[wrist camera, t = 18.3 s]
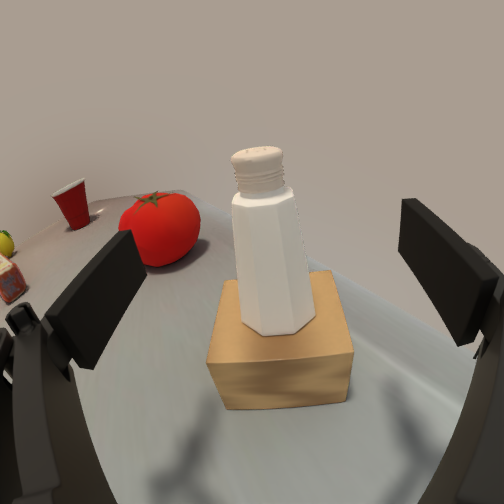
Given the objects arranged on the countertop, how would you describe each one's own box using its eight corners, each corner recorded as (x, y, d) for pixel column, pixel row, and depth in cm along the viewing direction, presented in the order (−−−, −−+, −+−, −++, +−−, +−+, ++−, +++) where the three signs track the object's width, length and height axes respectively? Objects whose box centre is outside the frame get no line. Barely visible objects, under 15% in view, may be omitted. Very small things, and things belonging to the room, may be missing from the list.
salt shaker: (325, 293, 21) (317, 140, 16) (303, 345, 17) (287, 158, 11) (259, 283, 23) (236, 145, 18) (226, 328, 19) (185, 166, 14)
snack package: (31, 289, 41) (15, 257, 38) (6, 308, 36) (-11, 276, 33) (9, 270, 51) (-1, 246, 48) (-9, 284, 46) (-21, 260, 43)
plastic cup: (67, 226, 71) (54, 188, 66) (99, 214, 74) (87, 175, 69) (60, 238, 62) (45, 196, 57) (95, 225, 65) (81, 181, 60)
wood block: (330, 322, 26) (330, 269, 23) (345, 401, 18) (354, 351, 15) (237, 330, 27) (224, 280, 24) (226, 409, 19) (205, 362, 17)
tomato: (131, 254, 46) (112, 198, 42) (200, 232, 49) (187, 175, 44) (129, 287, 37) (103, 219, 32) (215, 261, 40) (199, 190, 35)
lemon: (1, 260, 59) (-12, 230, 54) (14, 250, 63) (3, 221, 59) (5, 263, 56) (-9, 231, 51) (20, 252, 60) (7, 221, 56)
